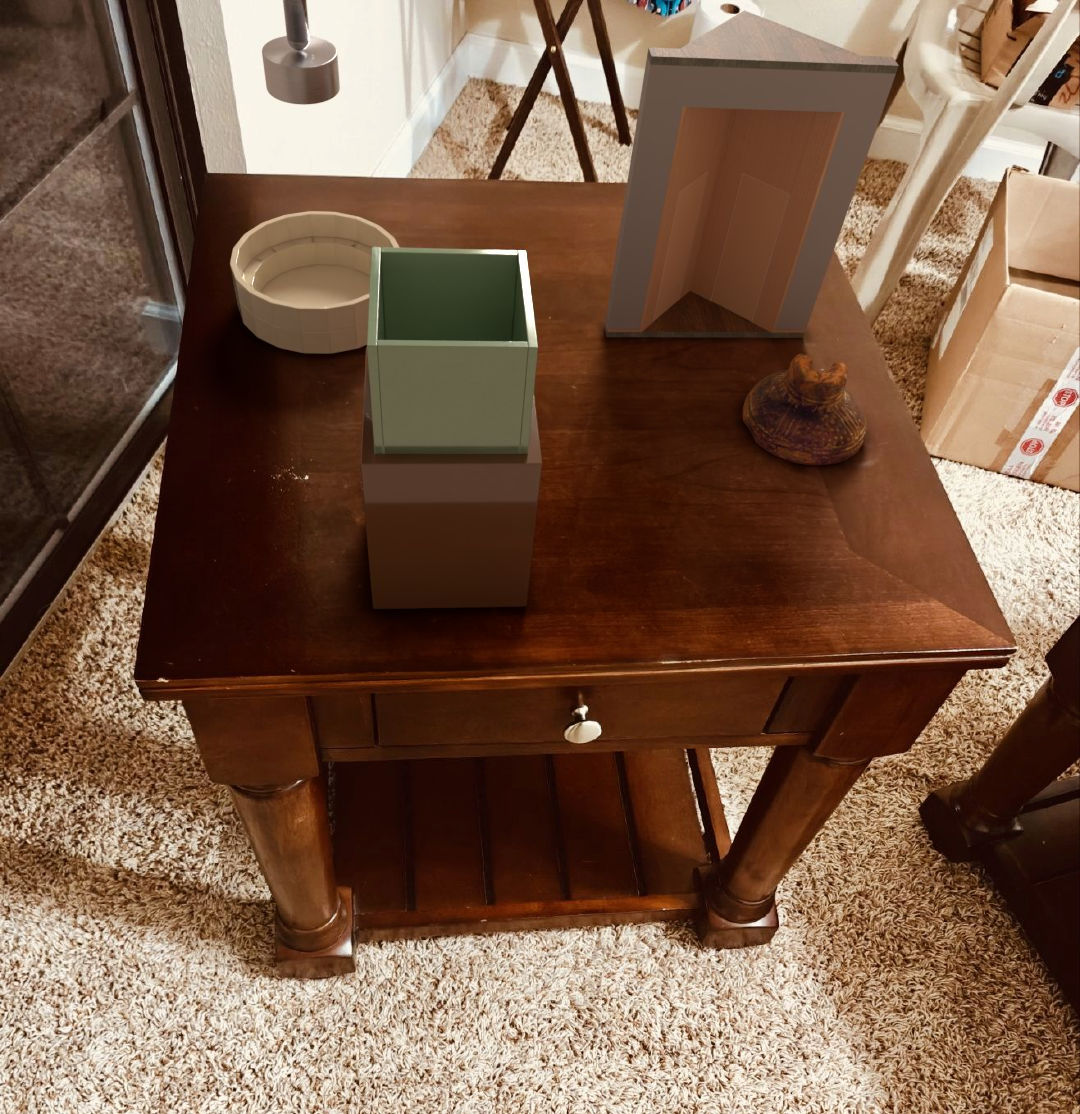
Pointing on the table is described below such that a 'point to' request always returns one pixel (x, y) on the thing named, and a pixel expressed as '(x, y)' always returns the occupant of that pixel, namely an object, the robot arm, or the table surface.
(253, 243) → the mixing bowl
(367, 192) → the table surface
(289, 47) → the rod with disc base
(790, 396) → the bell
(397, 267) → the utensil holder
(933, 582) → the table surface
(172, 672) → the table surface
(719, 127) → the cabinet
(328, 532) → the table surface
